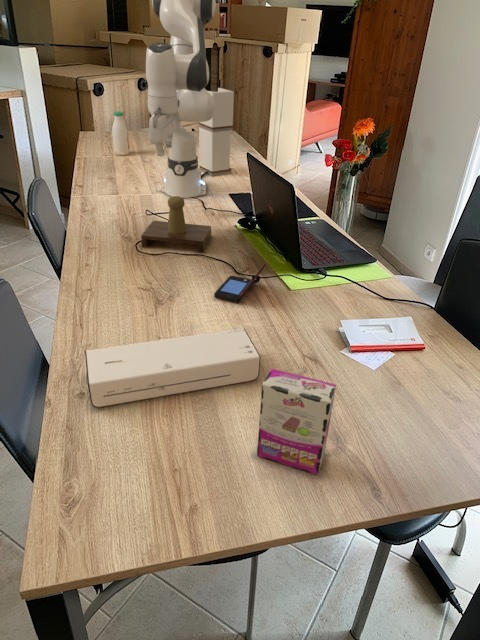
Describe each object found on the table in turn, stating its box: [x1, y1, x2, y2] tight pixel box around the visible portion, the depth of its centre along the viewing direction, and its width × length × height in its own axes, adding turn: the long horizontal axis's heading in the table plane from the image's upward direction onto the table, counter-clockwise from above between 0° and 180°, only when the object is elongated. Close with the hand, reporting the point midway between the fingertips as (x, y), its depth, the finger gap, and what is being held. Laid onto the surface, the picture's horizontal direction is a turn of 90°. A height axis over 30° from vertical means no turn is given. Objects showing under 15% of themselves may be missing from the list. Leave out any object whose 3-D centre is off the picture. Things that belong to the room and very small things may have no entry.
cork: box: [167, 196, 186, 234], centre depth 156 cm, size 6×6×11 cm
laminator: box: [84, 327, 262, 409], centre depth 102 cm, size 34×12×6 cm, turn 107°
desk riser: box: [140, 220, 212, 254], centre depth 160 cm, size 13×20×4 cm, turn 82°
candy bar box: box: [256, 368, 337, 476], centre depth 82 cm, size 11×5×16 cm, turn 69°
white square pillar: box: [198, 87, 235, 177], centre depth 222 cm, size 11×11×35 cm
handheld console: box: [213, 263, 267, 304], centre depth 133 cm, size 12×11×7 cm
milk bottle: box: [111, 110, 130, 156], centre depth 246 cm, size 8×8×20 cm
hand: (165, 151), depth 156 cm, fingers open, 8 cm apart
